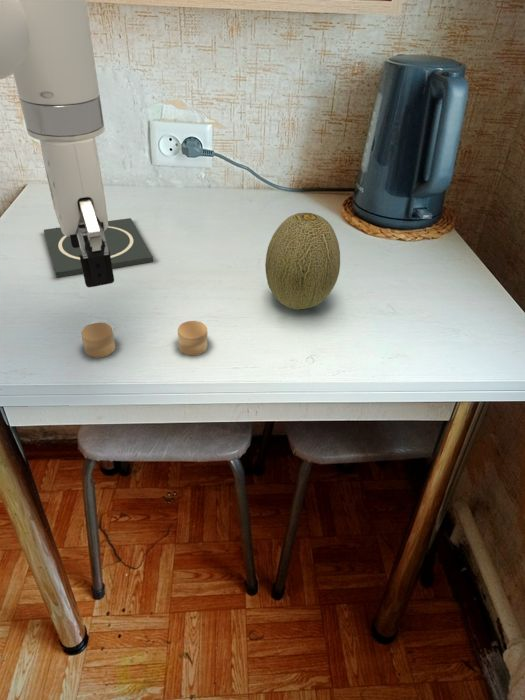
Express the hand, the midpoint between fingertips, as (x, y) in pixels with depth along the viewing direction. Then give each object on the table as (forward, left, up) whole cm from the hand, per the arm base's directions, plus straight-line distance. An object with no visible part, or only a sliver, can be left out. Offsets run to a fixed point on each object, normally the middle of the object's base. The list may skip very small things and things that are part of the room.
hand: (92, 263), depth 62 cm
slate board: (+4, +28, -13) cm, 31 cm away
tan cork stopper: (+11, -4, -13) cm, 18 cm away
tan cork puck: (-1, 0, -13) cm, 13 cm away
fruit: (+30, 0, -13) cm, 33 cm away
